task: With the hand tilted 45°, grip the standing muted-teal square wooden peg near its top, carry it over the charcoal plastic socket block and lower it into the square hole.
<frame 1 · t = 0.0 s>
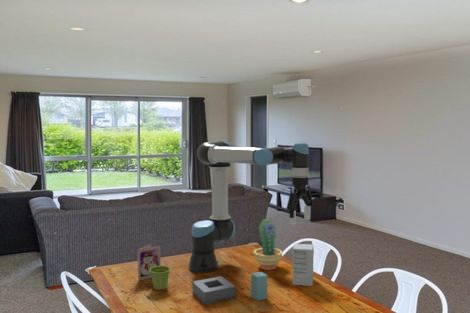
hand: (300, 222, 196), 28 cm above the table, tool pointing down, fingers open, 13 cm apart
socket: (213, 295, 182), on the table
plant pot: (160, 288, 191), on the table
greeting card: (147, 276, 206), on the table
supplement box: (303, 282, 197), on the table
peg: (259, 297, 179), on the table
potted cactus: (268, 267, 218), on the table
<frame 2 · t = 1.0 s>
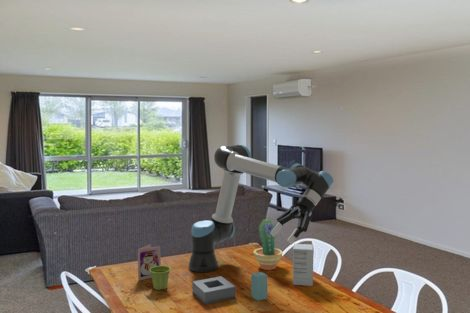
hand: (280, 238, 182), 24 cm above the table, tool tilted 45°, fingers open, 13 cm apart
nothing on the table moved.
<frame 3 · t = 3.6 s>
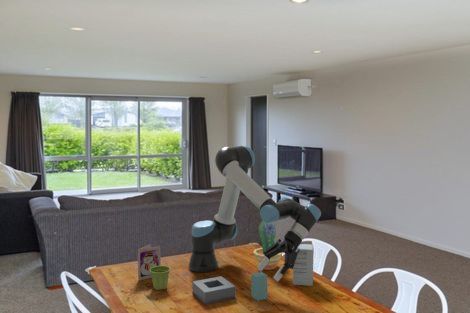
hand: (266, 274, 179), 10 cm above the table, tool tilted 45°, fingers open, 13 cm apart
nothing on the table moved.
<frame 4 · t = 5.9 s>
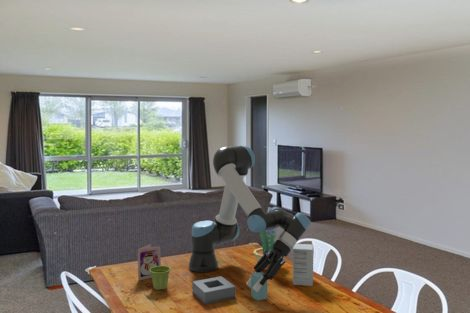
hand: (251, 287, 177), 5 cm above the table, tool tilted 45°, fingers closed on peg, 5 cm apart
peg: (259, 297, 179), on the table, touching gripper
everything else where it was.
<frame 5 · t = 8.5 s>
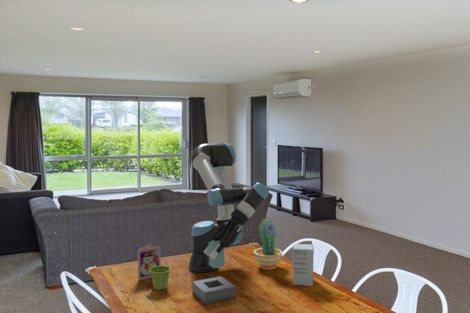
hand: (208, 255, 178), 18 cm above the table, tool tilted 45°, fingers closed on peg, 5 cm apart
peg: (216, 265, 181), point 13 cm above the table, touching gripper
everything else where it was.
when the fingers open (7 cm above the table, at t = 11.6 s): peg drops 1 cm, resting on socket.
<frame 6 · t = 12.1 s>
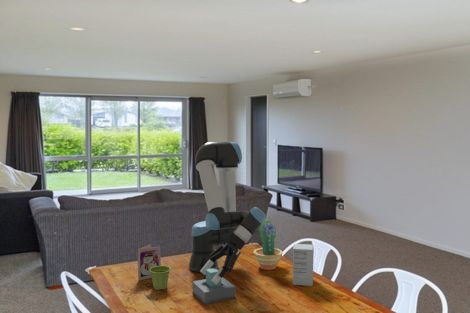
hand: (207, 277, 180), 8 cm above the table, tool tilted 45°, fingers open, 12 cm apart
peg: (213, 293, 182), point 1 cm above the table, touching socket
everything else where it was.
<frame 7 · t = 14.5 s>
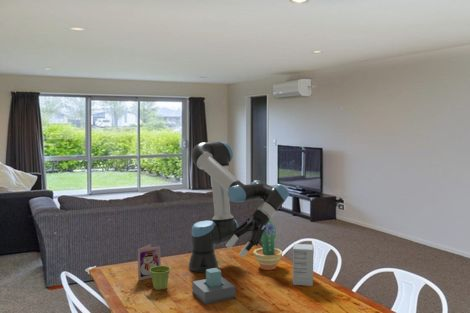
hand: (234, 251, 185), 18 cm above the table, tool tilted 45°, fingers open, 13 cm apart
nothing on the table moved.
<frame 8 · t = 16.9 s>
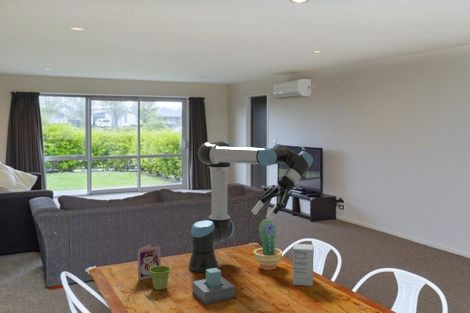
hand: (260, 215, 188), 33 cm above the table, tool tilted 45°, fingers open, 13 cm apart
nothing on the table moved.
at the end: peg 0.1 cm off-centre on the socket, point 1.0 cm above the socket's base; peg tilted 0°; the gripper is holding nothing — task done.
